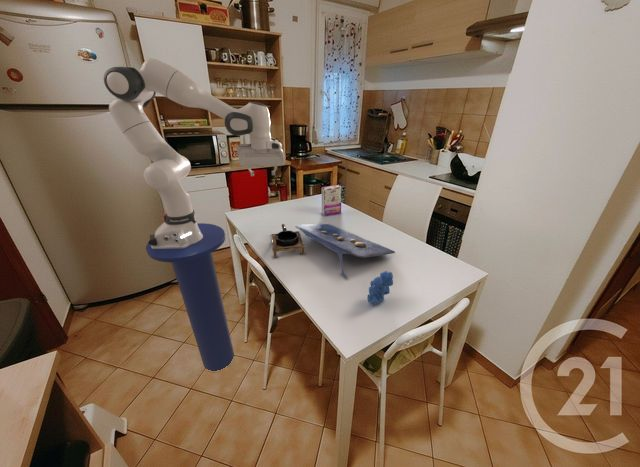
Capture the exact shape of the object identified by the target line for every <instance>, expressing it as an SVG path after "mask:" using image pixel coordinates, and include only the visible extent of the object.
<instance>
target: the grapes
mask: <svg viewBox="0 0 640 467" xmlns="http://www.w3.org/2000/svg"><path fill="white" fill-rule="evenodd" d="M379 275H380V276H377V277H375V278H373V280H371V281H370V286H369V287H368V294H367V298H366V299H367V300H366V301H367V302H368V303H370V305H371V306H377V305H378V304H379V303H381V302H384V300H385V296H386V295H388V294H390V292H391V290H390V287H392V286H393V285H394V280H393V279H394V276H393V272H391V271H386V270H384V271H382V272H381V273H379Z"/></svg>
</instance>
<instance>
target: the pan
mask: <svg viewBox="0 0 640 467" xmlns="http://www.w3.org/2000/svg"><path fill="white" fill-rule="evenodd" d="M281 229H282V231H279V232H278V233H275V234H276V235H275V237H276V244H277V245H278V246H281V247H288V246H295V245H296V244H297V243H299V236H298V234H297V232H296V231H293V230H288V229H287V227H286V224H285V223H282V224H281Z"/></svg>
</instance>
